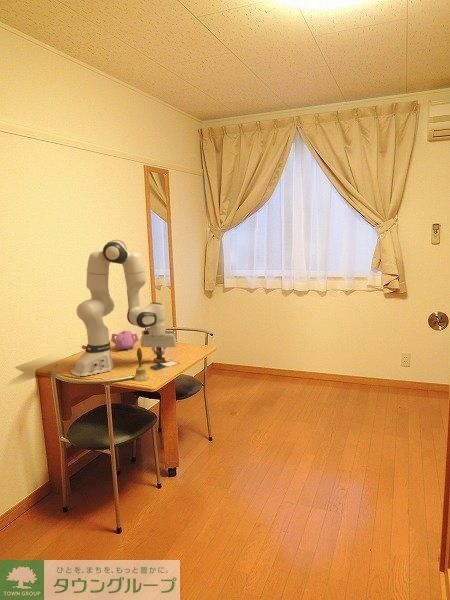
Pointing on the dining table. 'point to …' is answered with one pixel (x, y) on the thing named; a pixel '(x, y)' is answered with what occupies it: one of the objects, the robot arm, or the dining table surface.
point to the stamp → (159, 356)
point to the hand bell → (140, 369)
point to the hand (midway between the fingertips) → (159, 354)
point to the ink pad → (157, 367)
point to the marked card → (170, 363)
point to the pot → (124, 340)
